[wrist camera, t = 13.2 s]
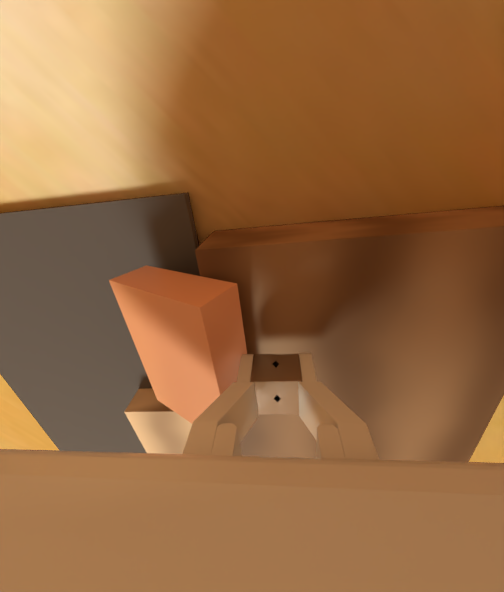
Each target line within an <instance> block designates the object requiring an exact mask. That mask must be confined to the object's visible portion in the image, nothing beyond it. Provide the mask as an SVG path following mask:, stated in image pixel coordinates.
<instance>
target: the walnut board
mask: <svg viewBox="0 0 504 592" xmlns="http://www.w3.org/2000/svg"><path fill="white" fill-rule="evenodd" d="M195 254H196V258H197V263H198V268H199V272H200V276H202V277H207V278H212V279H217V280H222V281H227V282H232V283H237V286H238V293H239V300H240V307H241V314H242V321H243V328H244V335H245V342H246V349H247V354H294V353H298V354H299V353H311V354H312V359H313V364H314V369H315V374H316V379H317V382H322V383H323V384H324V385H325V386H326V387H327V388H328V389H329V390H330V391H331V392H332V393H333V394H334V395H336V396H337V397H338V398H339V399H340V400H341V401H342V402H343V403H344V404H345V405H346V406H347V407H348V408H350V409H351V410H352V411H353V412H354V413H355V414H356V415H357V416H358V417H359V418H360V419H361V420H362V421H364V422H365V423H366V425H367V427H368V430H369V433H370V436H371V438H372V441H373V444H374V447H375V450H376V452H377V455H378V458H379V460H411V461H446V462H469V460H470V458H471V456H472V454H473V452H474V450H475V448H476V447H477V445H478V443H479V441H480V439H481V437H482V435H483V433H484V431H485V429H486V427H487V426H488V424H489V422H490V420H491V418H492V416H493V414H494V412H495V410H496V408H497V406H498V405H499V403H500V401H501V399H502V397H503V395H504V206H496V207H484V208H473V209H461V210H450V211H438V212H427V213H415V214H404V215H392V216H381V217H369V218H358V219H346V220H335V221H323V222H312V223H300V224H289V225H277V226H266V227H254V228H243V229H231V230H220V231H214V232H213V233H212V234H211V235H210V236H209V237H208V238H207V239H206V240H205V241H204V242H203V243H202V244H201V245H200V246H199V247H198V248H197V249H196V250H195ZM240 446H241V451H242V456H265V457H300V458H316V439H315V438H314V436H313V435H312V433H311V432H310V431H309V429H308V428H307V426H306V425H305V423H304V422H303V421H302V419H301V418H300V416H299V415H288V414H262V415H258V417H257V420H256V421H255V422H254V424H253V425H252V427H251V428H250V430H249V431H248V432H247V434H246V435H245V437H244V438H243V440H242V441H241V443H240Z"/></svg>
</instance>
